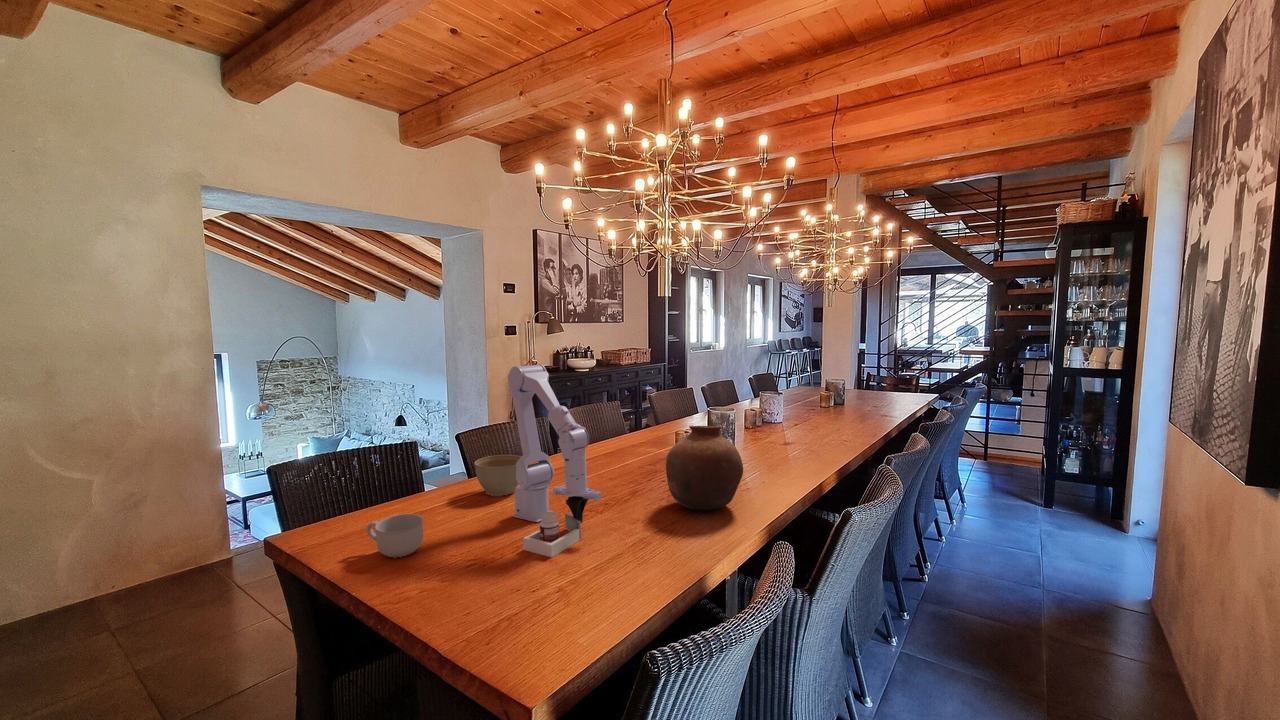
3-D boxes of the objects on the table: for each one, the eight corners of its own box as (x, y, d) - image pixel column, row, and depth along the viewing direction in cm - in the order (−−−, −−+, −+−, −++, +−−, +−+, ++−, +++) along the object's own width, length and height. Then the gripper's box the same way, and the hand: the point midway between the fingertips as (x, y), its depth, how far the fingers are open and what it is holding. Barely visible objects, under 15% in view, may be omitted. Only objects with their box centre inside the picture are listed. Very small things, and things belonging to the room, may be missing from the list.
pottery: (689, 526, 144) (688, 436, 143) (653, 500, 165) (652, 422, 164) (758, 513, 153) (758, 428, 152) (716, 490, 175) (715, 415, 173)
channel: (523, 549, 131) (523, 538, 131) (552, 534, 140) (551, 523, 140) (551, 557, 126) (551, 545, 126) (579, 540, 136) (579, 529, 136)
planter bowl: (519, 500, 168) (518, 467, 167) (468, 501, 168) (467, 467, 167) (530, 484, 184) (529, 454, 183) (484, 485, 184) (483, 454, 183)
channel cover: (581, 538, 137) (581, 521, 136) (578, 539, 136) (578, 522, 136) (568, 527, 144) (567, 511, 144) (565, 528, 144) (565, 512, 143)
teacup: (433, 546, 134) (432, 515, 133) (401, 565, 124) (399, 532, 123) (390, 540, 138) (388, 510, 138) (355, 557, 128) (354, 525, 128)
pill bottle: (541, 543, 135) (540, 511, 134) (559, 542, 135) (558, 510, 135) (540, 551, 130) (539, 518, 129) (559, 550, 131) (558, 517, 130)
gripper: (544, 474, 140) (547, 524, 141) (589, 480, 133) (592, 532, 134) (561, 468, 147) (563, 516, 147) (604, 473, 139) (607, 523, 140)
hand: (578, 523), depth 141 cm, fingers closed, pressing on channel cover
